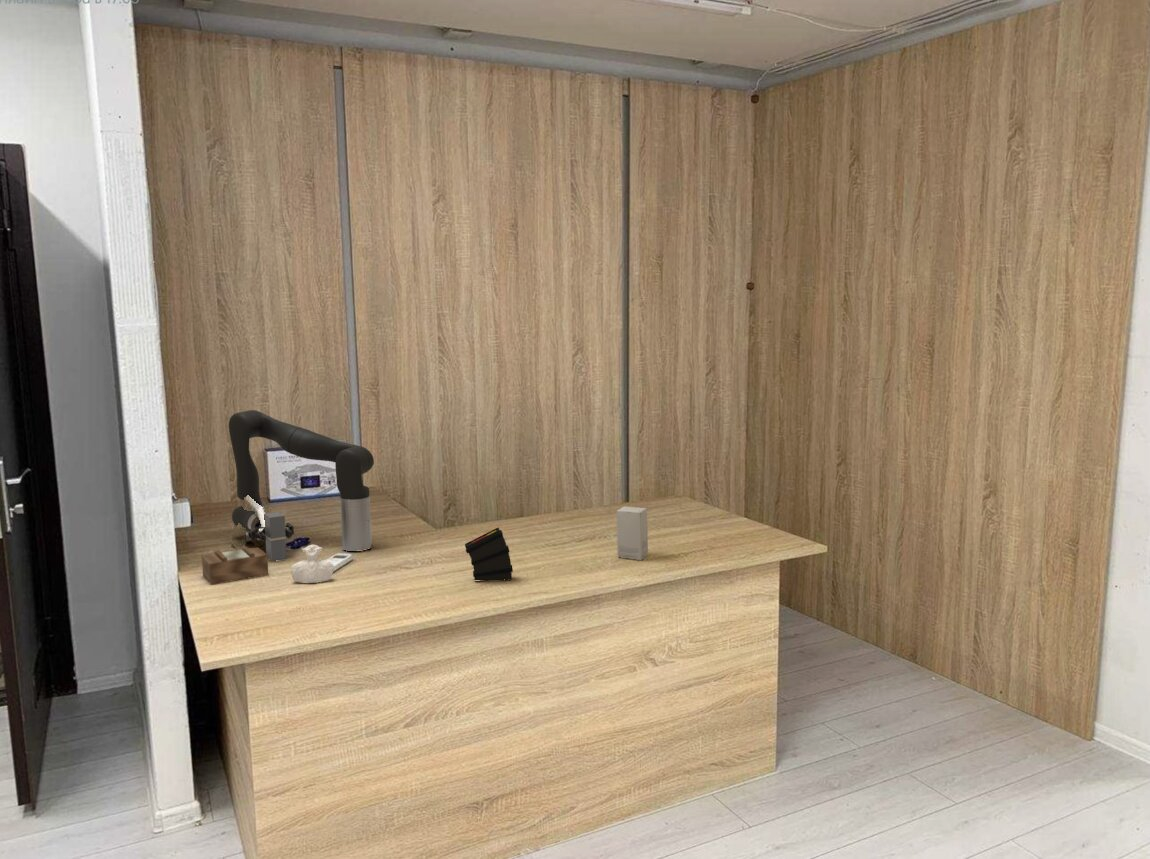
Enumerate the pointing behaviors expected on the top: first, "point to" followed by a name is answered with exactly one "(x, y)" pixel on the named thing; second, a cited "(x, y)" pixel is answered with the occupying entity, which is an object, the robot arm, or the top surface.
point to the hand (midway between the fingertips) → (277, 536)
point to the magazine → (490, 556)
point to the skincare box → (632, 533)
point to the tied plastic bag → (312, 567)
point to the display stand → (234, 565)
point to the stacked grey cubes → (275, 536)
